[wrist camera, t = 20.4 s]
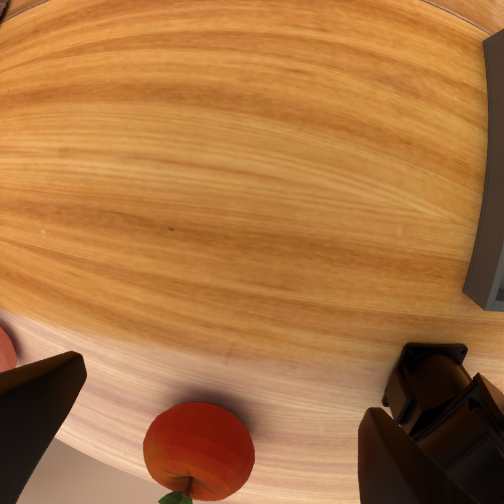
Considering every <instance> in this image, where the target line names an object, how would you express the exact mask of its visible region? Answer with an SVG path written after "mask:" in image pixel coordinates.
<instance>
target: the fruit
mask: <svg viewBox="0 0 504 504" xmlns="http://www.w3.org/2000/svg"><path fill="white" fill-rule="evenodd" d="M143 454H144V461H145V464H146V467H147V469H148V472H149V473H150V475H151V476H152V478H153V479H154V480H155V481H157V482H158V483H159V484H161V485H163V486H164V487H166V488H168V489H170V490H172V491H173V492H171V493H169V494H167V495H165V496H164V497H163V498H161V499H160V500H159V501H158V502H159V503H160V504H192V499H195V500H201V501H217V500H222V499H225V498H226V497H228V496H230V495H232V494H233V493H235V492H236V491H238V490H239V489H240V488H241V487H242V486H243V485H244V484H245V483H246V481H247V480H248V478H249V476H250V473H251V471H252V468H253V465H254V462H255V450H254V446H253V442H252V439H251V436H250V434H249V432H248V430H247V429H246V428H245V427H244V425H243V424H242V423H241V422H240V421H239V419H238V418H237V417H235V416H234V415H233V414H231V413H230V412H229V411H227V410H225V409H223V408H221V407H219V406H216V405H212V404H208V403H202V402H191V403H185V404H180V405H175V406H173V407H172V408H170V409H168V410H167V411H165V412H163V413H162V414H160V415H158V416H157V417H156V419H155V420H154V421H153V422H152V423H151V425H150V427H149V429H148V431H147V433H146V436H145V439H144V442H143Z"/></svg>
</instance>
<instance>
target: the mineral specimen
mask: <svg viewBox="0 0 504 504" xmlns="http://www.w3.org/2000/svg"><path fill="white" fill-rule="evenodd" d="M8 1H9V0H0V16H1V14H2V12H3V9H4V8H5V7H6V4H7V2H8Z"/></svg>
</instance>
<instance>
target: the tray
mask: <svg viewBox="0 0 504 504" xmlns="http://www.w3.org/2000/svg"><path fill="white" fill-rule="evenodd" d="M483 47H484V54H485V63H486V73H487V86H488V112H489V127H488V154H487V167H486V178H485V187H484V195H483V202H482V209H481V215H480V221H479V226H478V231H477V236H476V241H475V246H474V250H473V255H472V259H471V263H470V267H469V271H468V274H467V278H466V282H465V285H464V288H463V293H465V294H466V295H467V296H468V297H469V298H471V299H472V300H473V301H474V302H475V303H476V304H477V305H479V306H480V307H481V308H482V309H483V310H484V311H500V312H504V29H502V30H501V31H499V32H497V33H496V34H494V35H492V36H491V37H489V38H487V39H486V40H484V41H483Z"/></svg>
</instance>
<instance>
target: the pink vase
mask: <svg viewBox="0 0 504 504" xmlns="http://www.w3.org/2000/svg"><path fill="white" fill-rule="evenodd" d="M16 364H17V356H16V353H15V349H14V347H13V343H12V340H11V338H10V337H9V335H8V334H7V333H5V332H4V331H3V329H2V328H1V327H0V372H4V371H7V370H11V369H14V368H15V366H16Z"/></svg>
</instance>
